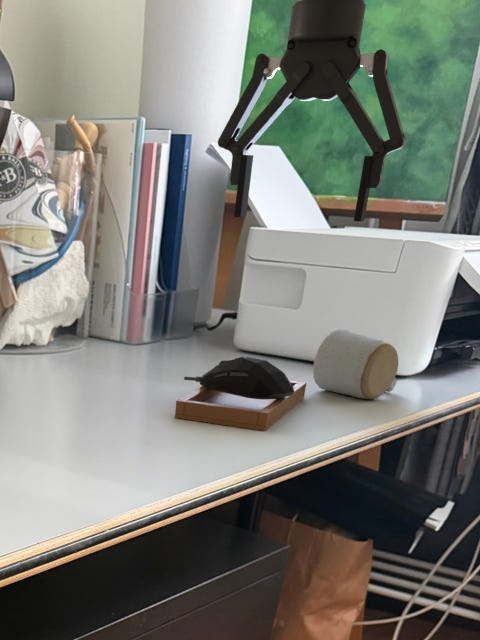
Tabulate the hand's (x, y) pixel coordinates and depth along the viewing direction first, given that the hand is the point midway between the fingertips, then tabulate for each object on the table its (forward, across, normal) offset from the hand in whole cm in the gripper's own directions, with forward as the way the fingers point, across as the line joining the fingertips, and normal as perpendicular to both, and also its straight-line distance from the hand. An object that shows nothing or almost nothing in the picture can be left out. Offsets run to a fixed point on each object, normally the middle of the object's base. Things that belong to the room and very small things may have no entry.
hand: (297, 219), depth 109 cm
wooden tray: (+21, +2, +7) cm, 22 cm away
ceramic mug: (+21, -9, -10) cm, 25 cm away
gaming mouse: (+19, +3, +7) cm, 20 cm away
